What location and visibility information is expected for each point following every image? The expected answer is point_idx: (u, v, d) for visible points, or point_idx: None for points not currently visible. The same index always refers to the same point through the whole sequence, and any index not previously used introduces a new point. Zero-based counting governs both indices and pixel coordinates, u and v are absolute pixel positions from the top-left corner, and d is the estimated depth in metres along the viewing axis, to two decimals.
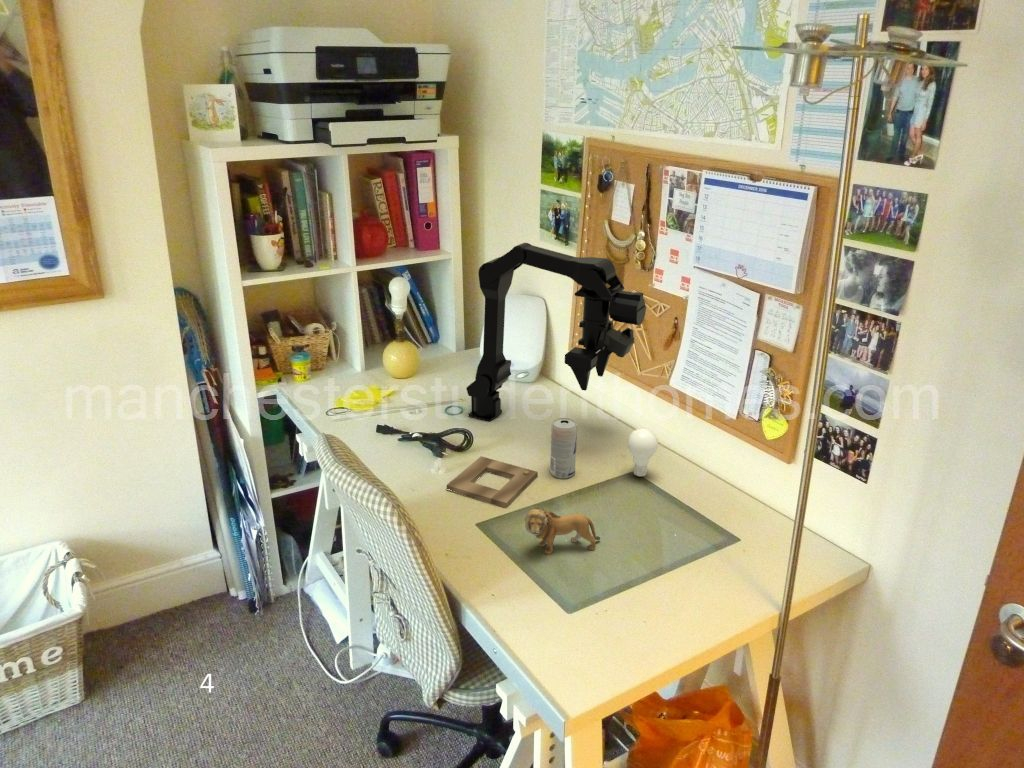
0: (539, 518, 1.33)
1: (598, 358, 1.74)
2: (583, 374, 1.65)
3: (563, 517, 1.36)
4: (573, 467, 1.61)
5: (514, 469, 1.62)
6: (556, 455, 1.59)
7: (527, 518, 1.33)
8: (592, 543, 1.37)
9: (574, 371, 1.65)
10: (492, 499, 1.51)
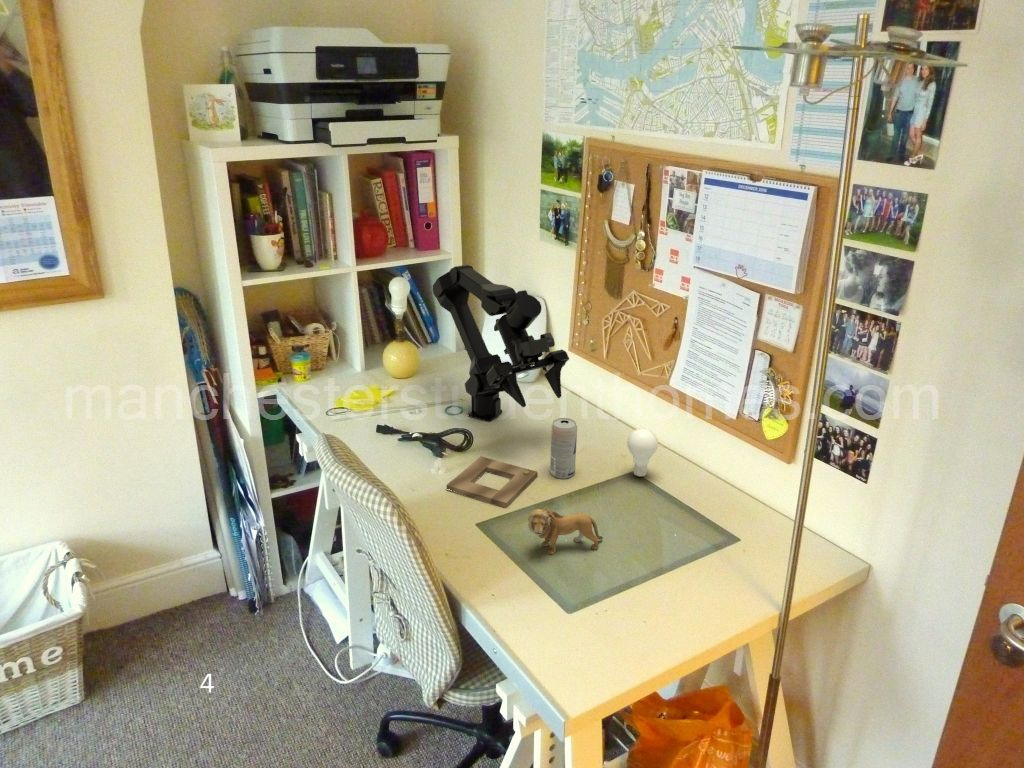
0: (542, 518, 1.33)
1: (551, 381, 1.68)
2: (513, 389, 1.62)
3: (566, 517, 1.36)
4: (573, 467, 1.61)
5: (514, 469, 1.62)
6: (556, 455, 1.59)
7: (530, 518, 1.33)
8: (595, 543, 1.37)
9: (507, 391, 1.64)
10: (492, 499, 1.51)
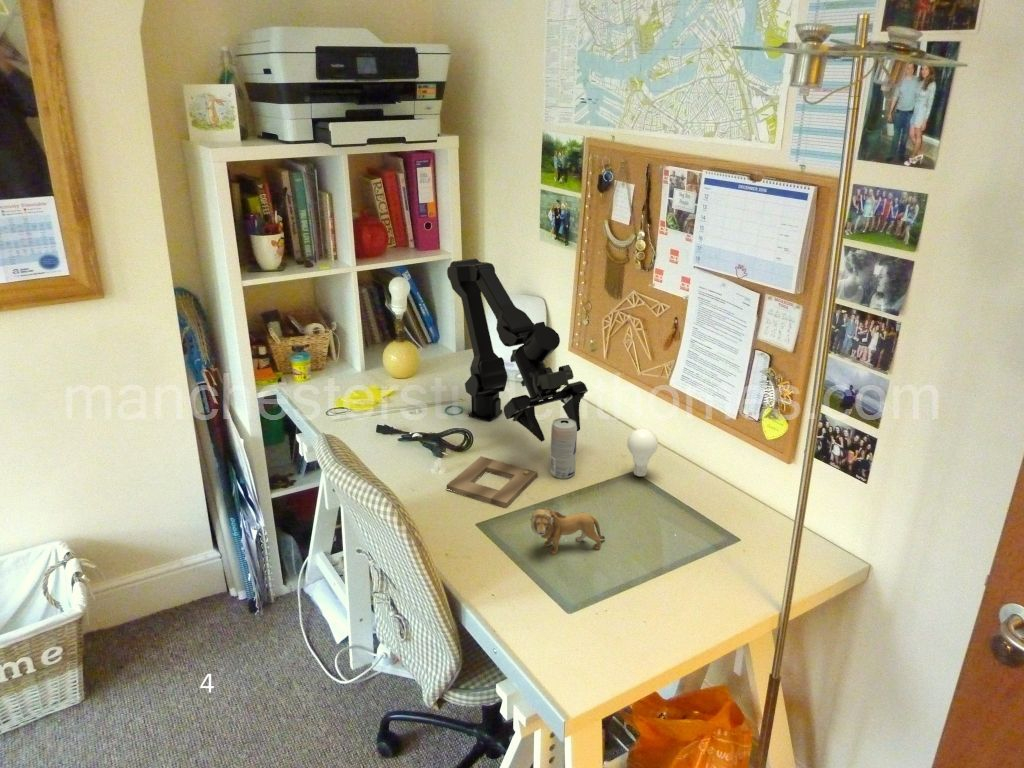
0: (545, 518, 1.33)
1: (570, 414, 1.64)
2: (531, 423, 1.58)
3: (568, 517, 1.36)
4: (573, 467, 1.61)
5: (514, 469, 1.62)
6: (556, 455, 1.59)
7: (533, 518, 1.33)
8: (597, 542, 1.37)
9: (525, 425, 1.60)
10: (492, 499, 1.51)
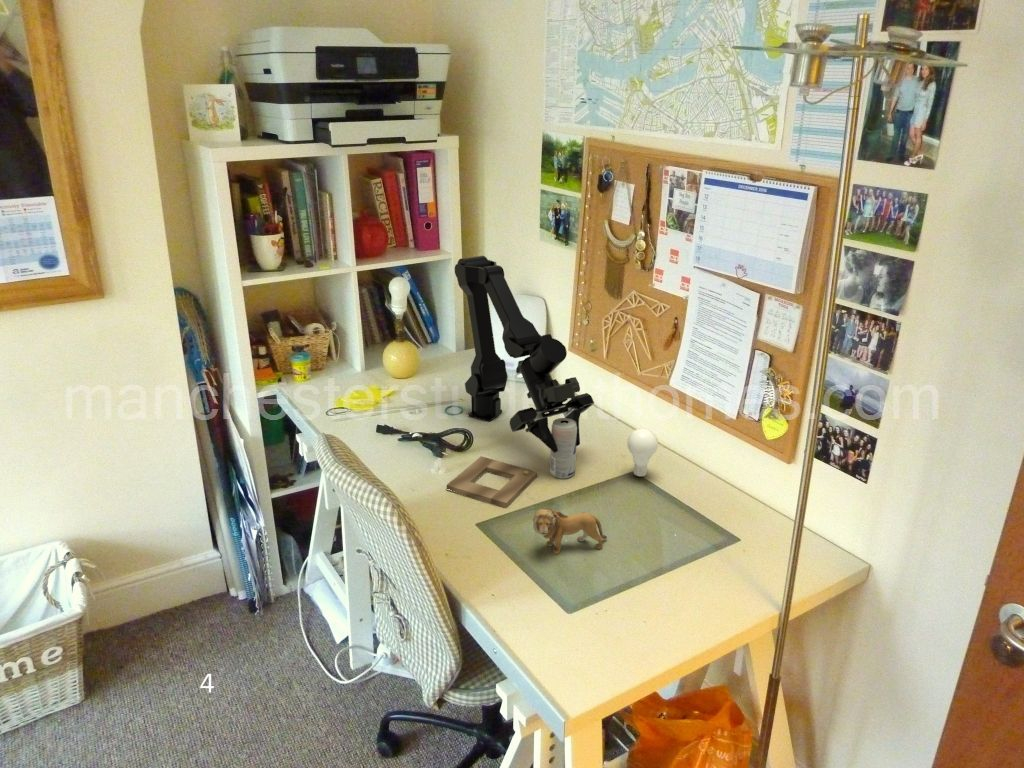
0: (547, 518, 1.33)
1: None
2: (544, 434, 1.58)
3: (570, 517, 1.36)
4: (573, 467, 1.61)
5: (514, 469, 1.62)
6: (556, 455, 1.59)
7: (535, 518, 1.33)
8: (599, 542, 1.37)
9: (537, 436, 1.60)
10: (492, 499, 1.51)
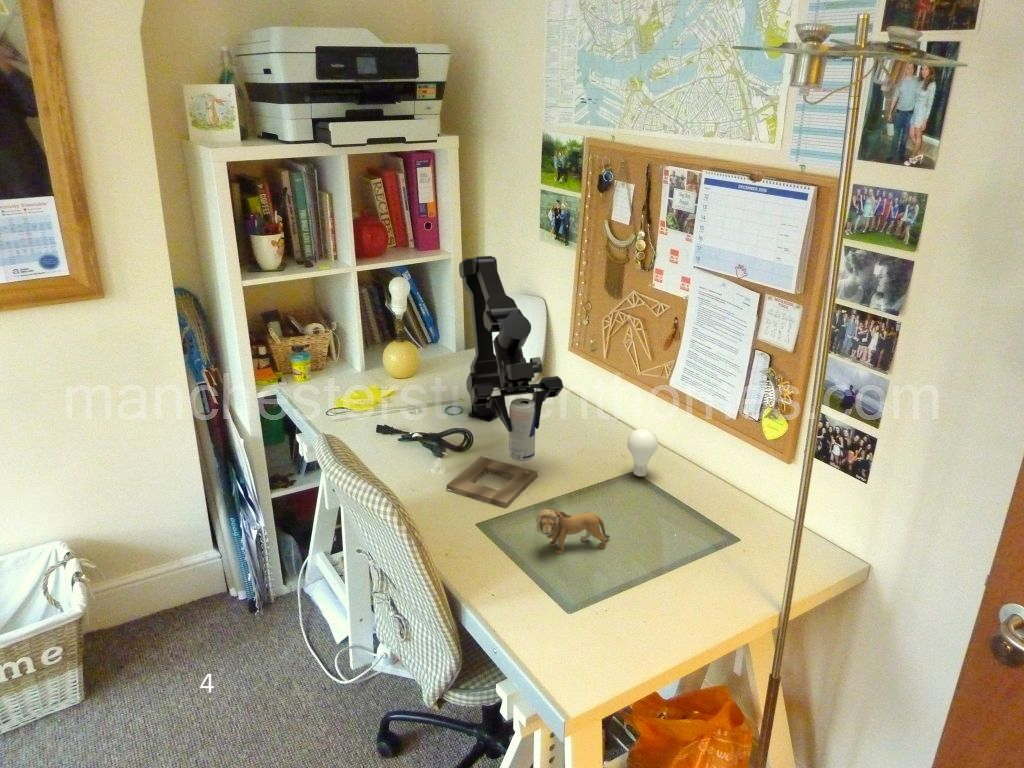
0: (550, 518, 1.33)
1: None
2: (501, 412, 1.53)
3: (573, 516, 1.36)
4: (530, 451, 1.54)
5: (514, 469, 1.62)
6: (512, 435, 1.53)
7: (539, 518, 1.33)
8: (602, 542, 1.38)
9: (497, 413, 1.55)
10: (492, 499, 1.51)
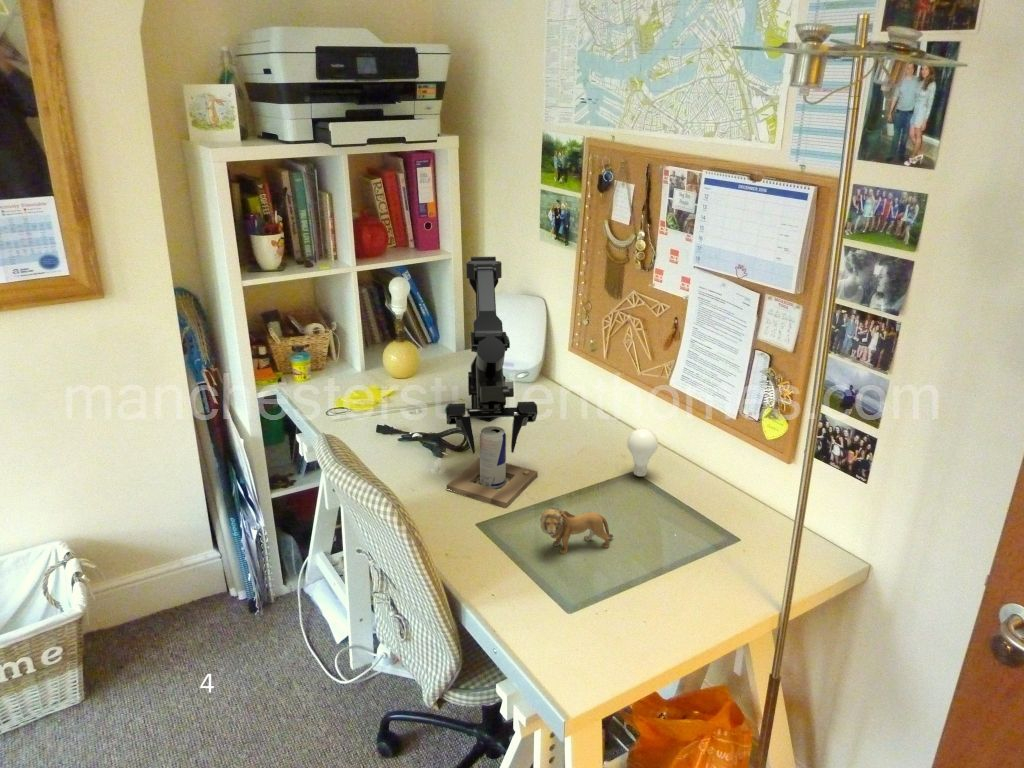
0: (555, 518, 1.33)
1: None
2: None
3: (577, 516, 1.36)
4: (498, 479, 1.56)
5: (514, 469, 1.62)
6: (481, 462, 1.55)
7: (543, 518, 1.33)
8: (606, 541, 1.38)
9: (465, 434, 1.57)
10: (492, 499, 1.51)
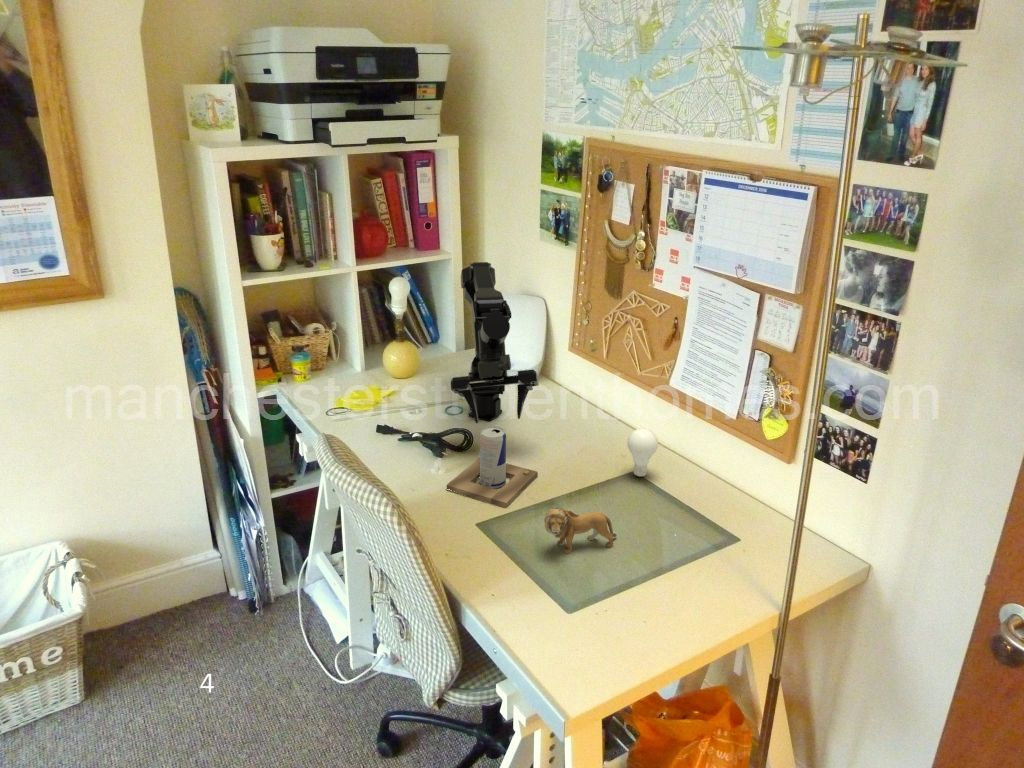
0: (559, 518, 1.33)
1: None
2: None
3: (581, 516, 1.36)
4: (498, 479, 1.56)
5: (514, 469, 1.62)
6: (481, 462, 1.55)
7: (547, 518, 1.33)
8: (610, 540, 1.38)
9: None
10: (492, 499, 1.51)
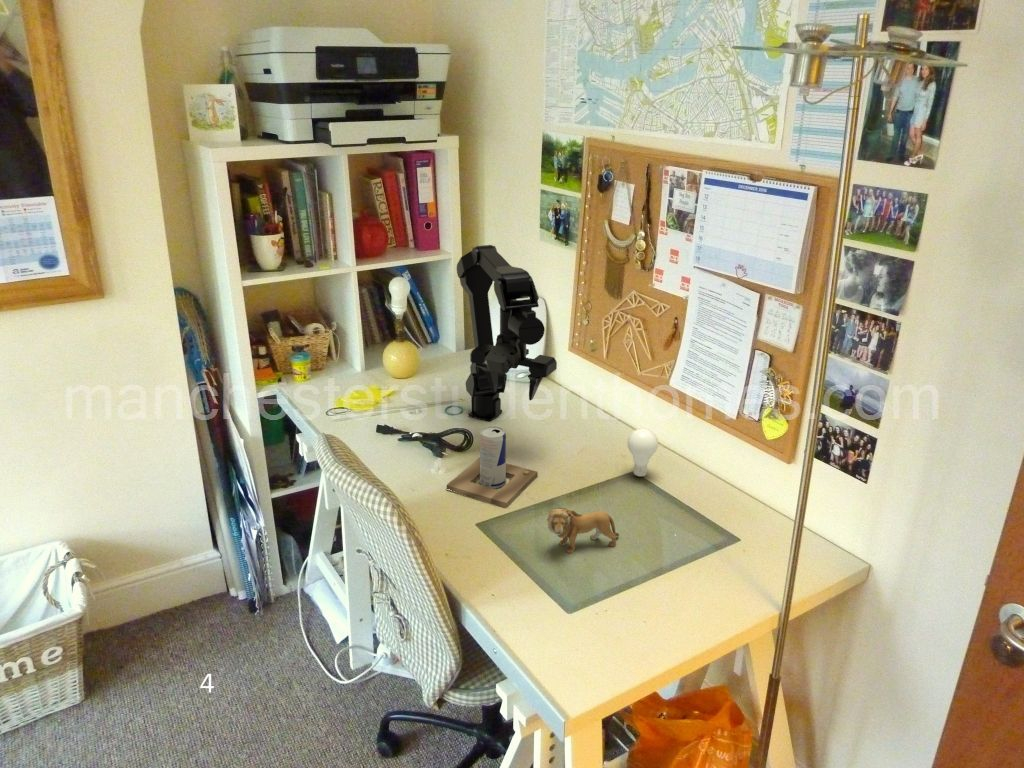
0: (562, 518, 1.33)
1: None
2: None
3: (584, 515, 1.37)
4: (498, 479, 1.56)
5: (514, 469, 1.62)
6: (481, 462, 1.55)
7: (550, 518, 1.33)
8: (613, 540, 1.38)
9: None
10: (492, 499, 1.51)
